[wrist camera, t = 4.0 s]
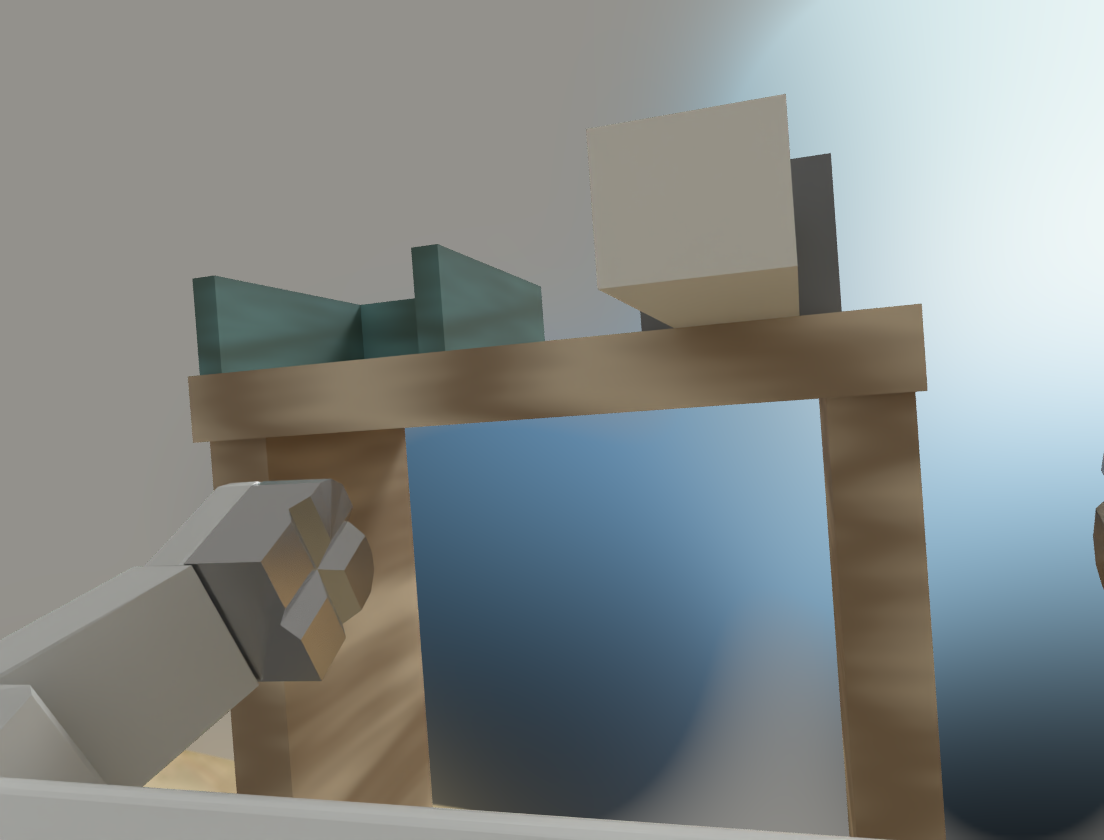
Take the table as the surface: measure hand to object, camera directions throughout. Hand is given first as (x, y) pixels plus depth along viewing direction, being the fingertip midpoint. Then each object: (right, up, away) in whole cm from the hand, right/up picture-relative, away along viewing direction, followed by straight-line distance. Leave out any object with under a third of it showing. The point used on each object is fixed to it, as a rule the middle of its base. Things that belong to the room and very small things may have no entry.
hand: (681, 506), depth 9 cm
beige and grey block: (+3, +3, +11) cm, 12 cm away
